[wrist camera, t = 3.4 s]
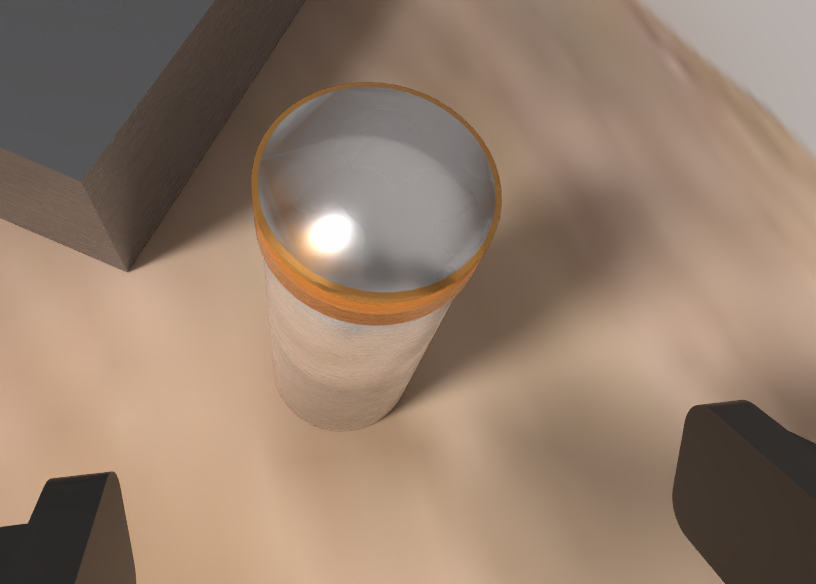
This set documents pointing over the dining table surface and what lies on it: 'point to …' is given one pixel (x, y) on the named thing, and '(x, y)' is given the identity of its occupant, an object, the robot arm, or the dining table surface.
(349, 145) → the pin
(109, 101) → the block
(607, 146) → the dining table surface
